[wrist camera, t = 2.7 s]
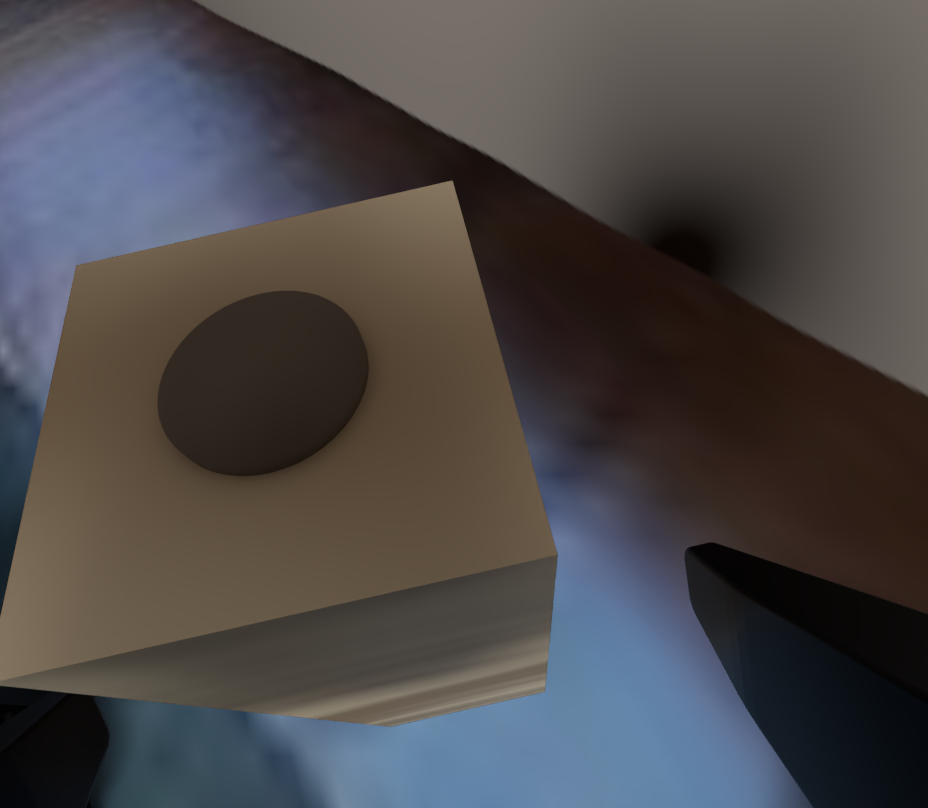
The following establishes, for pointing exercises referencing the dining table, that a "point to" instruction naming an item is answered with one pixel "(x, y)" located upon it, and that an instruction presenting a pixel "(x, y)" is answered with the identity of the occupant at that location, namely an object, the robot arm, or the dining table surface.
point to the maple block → (285, 479)
